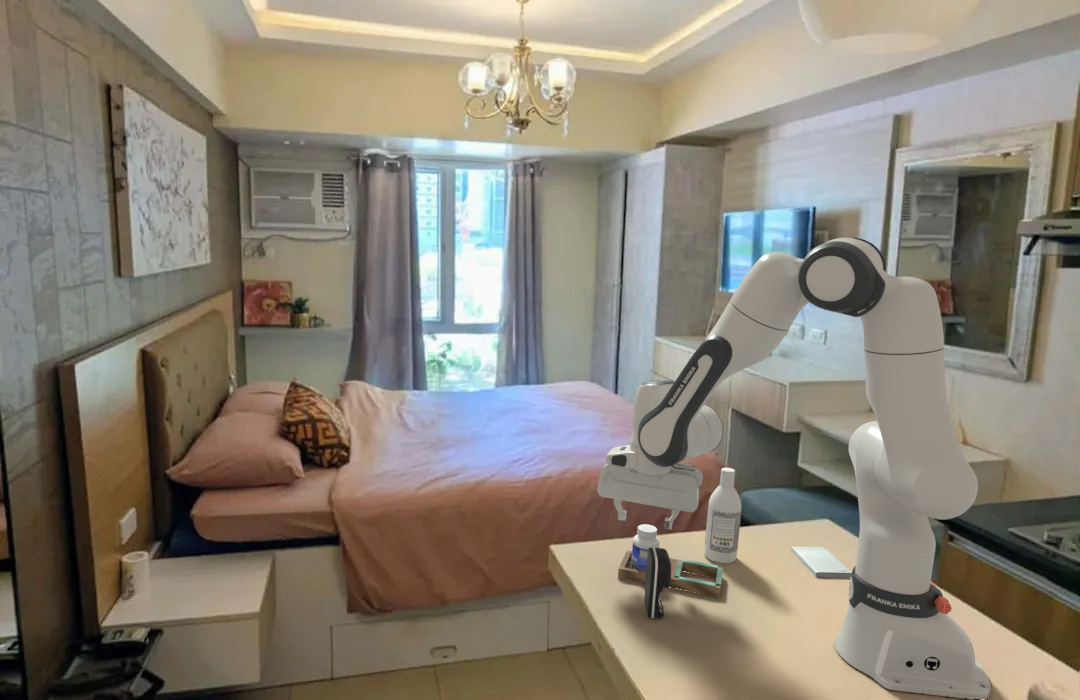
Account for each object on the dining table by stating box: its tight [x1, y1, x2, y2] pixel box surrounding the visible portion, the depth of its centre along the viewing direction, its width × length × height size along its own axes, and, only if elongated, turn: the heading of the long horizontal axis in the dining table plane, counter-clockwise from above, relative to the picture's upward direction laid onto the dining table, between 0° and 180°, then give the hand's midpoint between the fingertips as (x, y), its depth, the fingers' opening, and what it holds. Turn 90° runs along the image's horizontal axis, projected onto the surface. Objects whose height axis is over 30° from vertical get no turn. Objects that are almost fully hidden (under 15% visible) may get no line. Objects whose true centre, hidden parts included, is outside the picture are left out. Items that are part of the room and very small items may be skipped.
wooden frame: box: [617, 549, 724, 599], centre depth 139 cm, size 20×9×2 cm, turn 72°
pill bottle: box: [630, 523, 660, 571], centre depth 140 cm, size 5×5×10 cm
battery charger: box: [643, 547, 671, 619], centre depth 125 cm, size 7×4×11 cm, turn 177°
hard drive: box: [790, 546, 852, 579], centre depth 149 cm, size 2×8×12 cm
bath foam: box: [703, 467, 742, 564], centre depth 148 cm, size 7×7×20 cm
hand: (644, 523), depth 139 cm, fingers open, 8 cm apart
